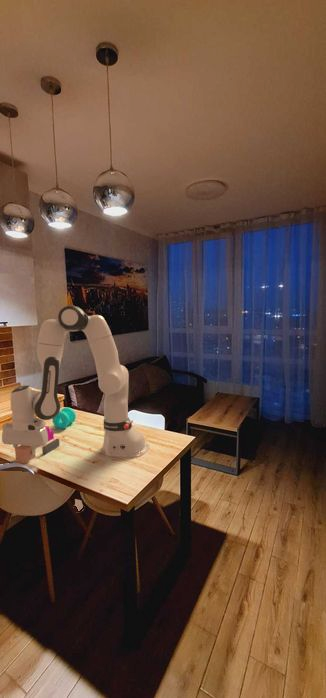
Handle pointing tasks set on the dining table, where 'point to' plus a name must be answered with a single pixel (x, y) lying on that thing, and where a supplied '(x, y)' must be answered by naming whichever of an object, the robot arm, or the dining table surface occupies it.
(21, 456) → the terracotta block
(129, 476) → the dining table surface
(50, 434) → the toy block
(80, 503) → the vase
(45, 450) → the guide channel
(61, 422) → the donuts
